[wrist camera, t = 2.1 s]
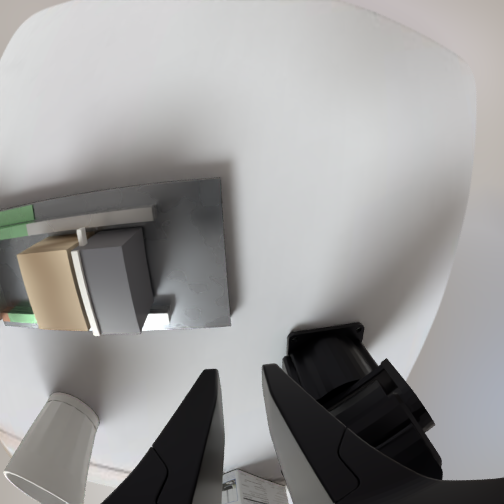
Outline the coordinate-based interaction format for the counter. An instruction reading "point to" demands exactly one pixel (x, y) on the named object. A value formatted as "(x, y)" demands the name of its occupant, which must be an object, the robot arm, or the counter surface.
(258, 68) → the counter surface
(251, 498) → the light bulb box
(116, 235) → the plunger
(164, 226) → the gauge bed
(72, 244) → the block
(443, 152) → the counter surface
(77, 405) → the cup
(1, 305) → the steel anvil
